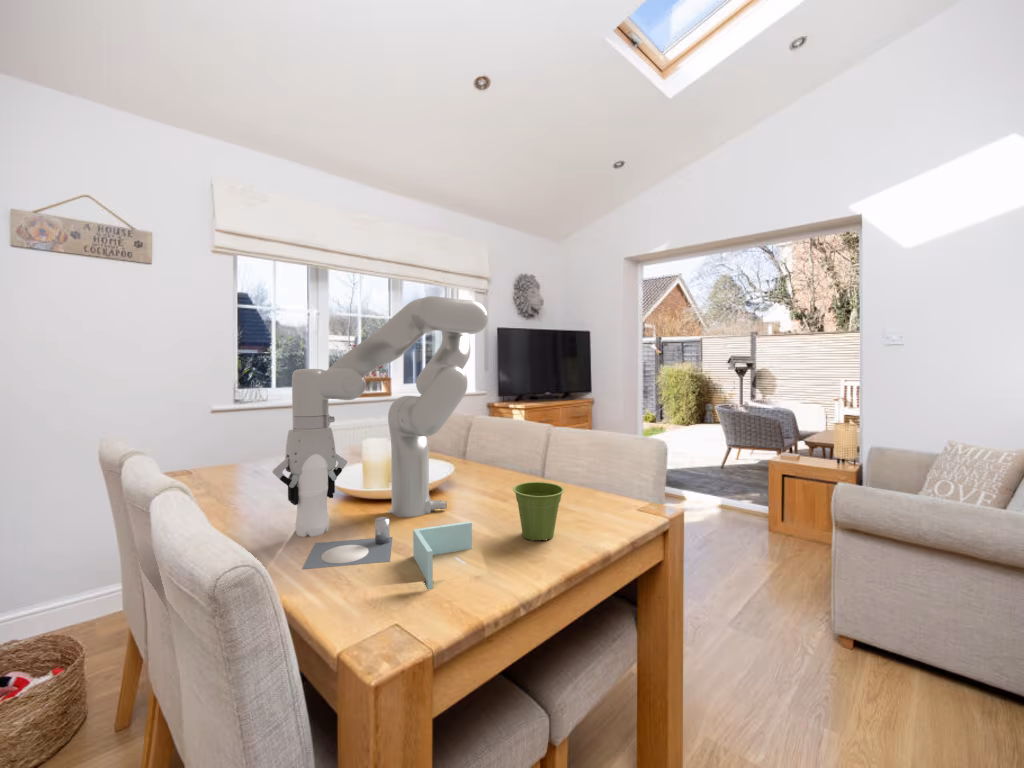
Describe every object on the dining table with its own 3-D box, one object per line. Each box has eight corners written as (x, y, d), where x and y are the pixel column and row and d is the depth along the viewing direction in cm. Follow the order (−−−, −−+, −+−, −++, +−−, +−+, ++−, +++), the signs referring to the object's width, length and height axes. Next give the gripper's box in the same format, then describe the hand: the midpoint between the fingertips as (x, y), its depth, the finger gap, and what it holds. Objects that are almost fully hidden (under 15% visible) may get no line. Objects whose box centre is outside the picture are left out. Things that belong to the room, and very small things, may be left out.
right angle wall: (427, 593, 82) (427, 551, 81) (413, 566, 93) (413, 529, 92) (491, 580, 86) (491, 541, 86) (470, 556, 97) (470, 521, 97)
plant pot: (505, 541, 104) (505, 492, 104) (523, 524, 115) (523, 479, 115) (555, 549, 100) (556, 498, 99) (569, 531, 111) (569, 484, 110)
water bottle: (336, 535, 107) (334, 428, 106) (308, 546, 101) (306, 432, 100) (317, 529, 111) (315, 426, 110) (289, 539, 105) (286, 430, 104)
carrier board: (392, 543, 103) (392, 536, 103) (390, 568, 90) (390, 560, 90) (315, 549, 99) (315, 542, 99) (302, 576, 86) (301, 568, 86)
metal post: (389, 538, 101) (389, 516, 101) (389, 543, 99) (389, 520, 98) (375, 539, 101) (375, 517, 101) (374, 545, 98) (374, 521, 98)
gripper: (341, 418, 114) (342, 490, 114) (264, 424, 102) (265, 504, 103) (354, 421, 108) (355, 496, 109) (274, 428, 96) (276, 512, 97)
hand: (312, 499), depth 106 cm, fingers closed on water bottle, 7 cm apart
